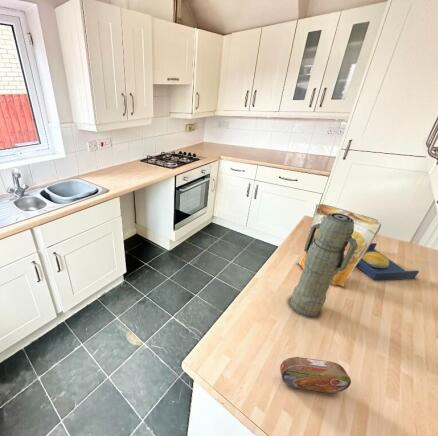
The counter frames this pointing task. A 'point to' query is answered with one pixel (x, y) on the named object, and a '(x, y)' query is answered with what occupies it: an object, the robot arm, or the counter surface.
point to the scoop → (385, 269)
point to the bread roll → (375, 260)
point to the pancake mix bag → (362, 234)
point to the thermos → (323, 262)
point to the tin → (314, 375)
